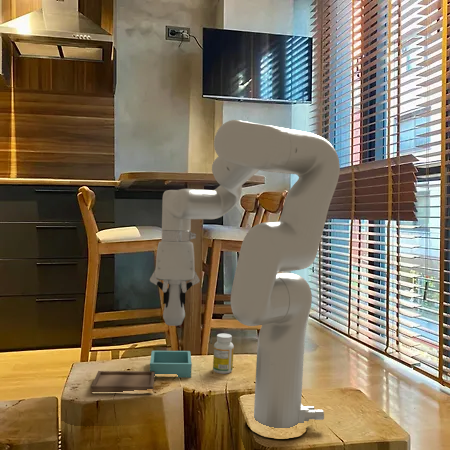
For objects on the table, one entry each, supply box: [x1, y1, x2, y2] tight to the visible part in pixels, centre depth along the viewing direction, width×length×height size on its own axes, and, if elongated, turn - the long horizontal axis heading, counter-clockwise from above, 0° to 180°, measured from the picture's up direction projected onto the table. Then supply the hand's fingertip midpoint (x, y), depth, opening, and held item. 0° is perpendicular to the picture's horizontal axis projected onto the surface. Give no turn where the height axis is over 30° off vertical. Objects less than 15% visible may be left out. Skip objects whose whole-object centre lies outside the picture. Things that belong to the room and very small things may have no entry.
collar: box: [149, 350, 193, 378], centre depth 129 cm, size 11×11×4 cm
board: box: [90, 370, 155, 393], centre depth 117 cm, size 14×10×2 cm
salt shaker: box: [162, 279, 186, 327], centre depth 128 cm, size 6×6×13 cm
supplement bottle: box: [212, 333, 235, 375], centre depth 131 cm, size 5×5×10 cm
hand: (174, 306), depth 128 cm, fingers closed on salt shaker, 3 cm apart
